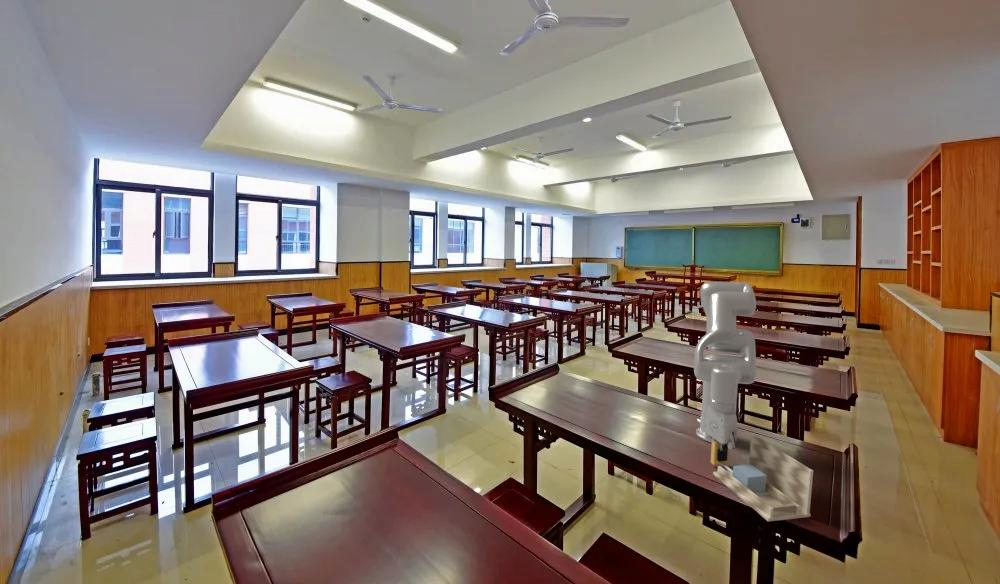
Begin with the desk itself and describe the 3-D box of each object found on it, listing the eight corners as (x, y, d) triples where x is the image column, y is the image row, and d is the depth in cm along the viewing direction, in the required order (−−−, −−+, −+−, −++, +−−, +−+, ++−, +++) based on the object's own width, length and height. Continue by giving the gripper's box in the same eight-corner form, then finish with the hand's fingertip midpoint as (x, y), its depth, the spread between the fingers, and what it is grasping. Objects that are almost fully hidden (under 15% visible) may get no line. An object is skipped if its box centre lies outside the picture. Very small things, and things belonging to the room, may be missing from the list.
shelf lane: (713, 474, 129) (715, 435, 127) (748, 470, 130) (751, 432, 129) (768, 521, 107) (771, 475, 105) (810, 516, 109) (814, 471, 107)
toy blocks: (709, 462, 134) (710, 441, 133) (725, 461, 134) (727, 439, 133) (746, 493, 117) (748, 469, 116) (765, 491, 118) (767, 467, 117)
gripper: (696, 396, 138) (694, 447, 140) (729, 416, 122) (725, 473, 125) (717, 395, 139) (714, 446, 141) (751, 414, 124) (747, 471, 126)
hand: (719, 458), depth 133 cm, fingers closed on toy blocks
